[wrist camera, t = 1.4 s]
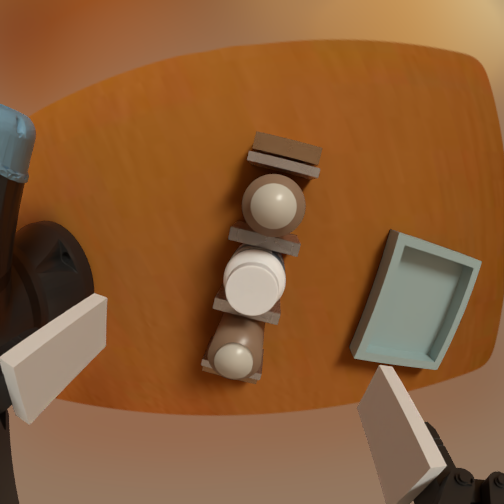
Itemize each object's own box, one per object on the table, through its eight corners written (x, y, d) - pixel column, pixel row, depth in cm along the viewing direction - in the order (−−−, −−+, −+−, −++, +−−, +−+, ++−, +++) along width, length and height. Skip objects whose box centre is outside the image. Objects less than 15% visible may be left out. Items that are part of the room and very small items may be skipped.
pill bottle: (281, 290, 31) (283, 327, 23) (231, 286, 32) (216, 322, 23) (285, 239, 30) (290, 260, 21) (233, 236, 30) (217, 255, 22)
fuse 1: (219, 332, 33) (201, 377, 24) (227, 295, 32) (210, 333, 23) (259, 342, 33) (253, 390, 24) (269, 306, 32) (267, 347, 23)
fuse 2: (245, 218, 30) (233, 230, 21) (256, 173, 29) (249, 166, 20) (290, 229, 30) (297, 246, 21) (302, 184, 29) (313, 182, 20)
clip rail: (207, 356, 34) (197, 380, 29) (258, 137, 28) (255, 126, 23) (257, 369, 33) (254, 395, 28) (317, 152, 28) (326, 144, 23)
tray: (349, 347, 32) (353, 358, 30) (390, 229, 29) (399, 232, 27) (429, 359, 32) (436, 369, 29) (470, 256, 29) (481, 261, 26)
